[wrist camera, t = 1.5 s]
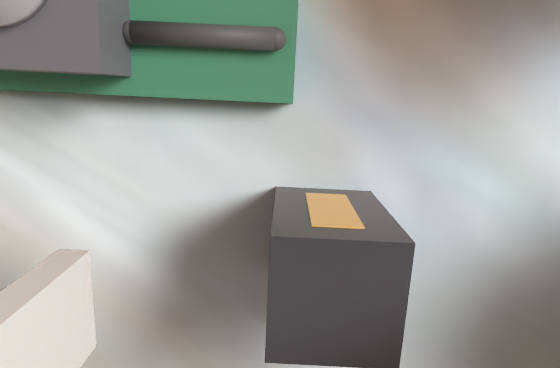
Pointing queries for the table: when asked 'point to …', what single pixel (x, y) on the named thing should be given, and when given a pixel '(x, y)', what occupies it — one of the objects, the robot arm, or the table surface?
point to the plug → (336, 280)
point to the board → (151, 48)
